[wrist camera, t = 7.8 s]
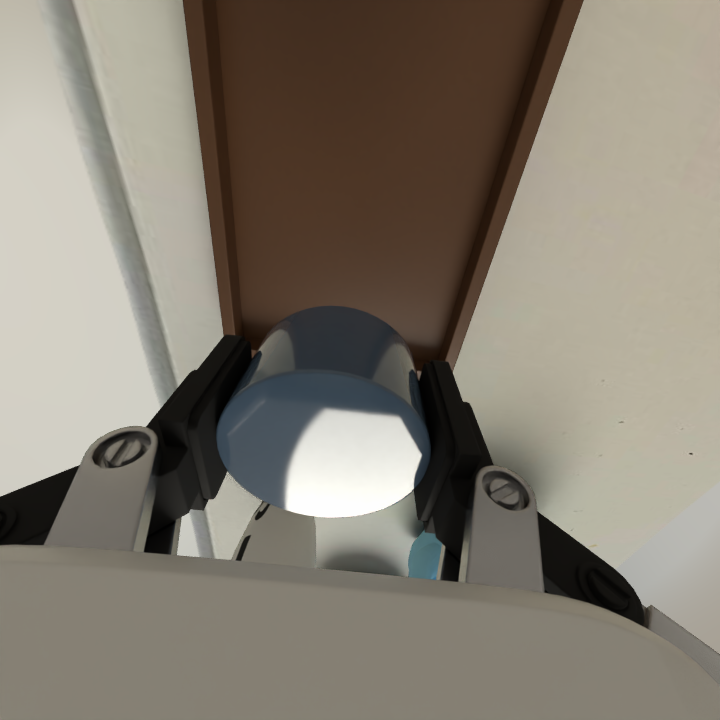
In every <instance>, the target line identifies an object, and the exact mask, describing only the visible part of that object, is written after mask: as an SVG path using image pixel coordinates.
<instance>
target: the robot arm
mask: <svg viewBox="0 0 720 720" xmlns="http://www.w3.org/2000/svg"><path fill="white" fill-rule="evenodd" d="M251 360H252V350H251V343H250V341H246V339H245V337H244V336H237V335H229V334H226V335H224V337H223V338H222V339H221V340H220V342H219V343H218V344H217V345H216V347H215V348H214V349H213V351H212V352H211V353H210V354H209V356H208V357H207V358H206V359H205V361H204V362H203V363H202V364H201V366H200V367H199V368H198V369H197V370H194V371H192V372H191V373H189V375H188V376H187V377H186V378H185V379H184V381H183V382H182V383H181V384H180V386H179V387H178V388H177V389H176V391H175V392H174V393H173V394H172V395H171V397H170V398H169V399H168V400H167V402H166V403H165V404H164V405H163V407H162V408H161V409H160V410H159V411H158V413H157V414H156V415H155V416H154V418H153V419H152V420H151V421H150V423H149V424H148V425H147V426H146V427H142V426H129V427H124V428H120V429H117V430H114V431H112V432H109V433H107V434H105V435H104V436H102V437H100V438H99V439H97V440H96V441H95V442H94V443H93V444H92V445H91V446H90V447H89V449H88V450H87V451H86V453H85V455H84V457H83V459H82V462H81V464H80V465H79V466H76V467H74V468H71V469H69V470H66V471H64V472H61V473H59V474H56V475H54V476H51V477H48V478H46V479H43V480H41V481H38V482H36V483H34V484H31V485H28V486H26V487H23V488H21V489H18V490H16V491H13V492H11V493H9V494H6V495H3V496H1V497H0V720H720V654H719V653H717V652H716V651H714V650H713V649H712V648H710V647H709V646H707V645H706V644H705V643H703V642H702V641H701V640H699V639H698V638H696V637H695V636H694V635H692V634H691V633H689V632H688V631H687V630H685V629H684V628H683V627H681V626H679V625H678V624H677V623H676V622H674V621H673V620H671V619H670V618H669V617H667V616H666V615H665V614H663V613H662V612H660V611H659V610H658V609H656V608H655V607H653V606H652V605H650V606H649V607H647V608H646V607H644V606H643V605H642V604H641V601H640V599H639V597H638V596H637V594H636V592H635V591H634V589H633V588H632V587H631V585H630V584H629V583H628V582H627V581H626V579H625V578H624V577H623V576H622V575H621V574H620V573H618V572H617V571H616V570H615V569H614V568H613V567H611V566H610V565H609V564H607V563H606V562H605V561H603V560H602V559H601V558H599V557H598V556H597V555H595V554H594V553H593V552H591V551H590V550H589V549H587V548H586V547H585V546H583V545H582V544H580V543H579V542H578V541H576V540H575V539H574V538H572V537H571V536H570V535H568V534H567V533H566V532H564V531H563V530H562V529H560V528H559V527H558V526H556V525H555V524H554V523H552V522H551V521H550V520H548V519H547V518H546V517H544V516H543V515H542V514H540V513H539V512H538V511H537V506H536V499H535V495H534V493H533V491H532V489H531V488H530V486H529V485H528V483H527V482H526V481H525V480H524V479H523V478H522V477H520V476H519V475H518V474H516V473H515V472H513V471H511V470H509V469H507V468H504V467H500V466H494V465H493V462H492V459H491V457H490V454H489V452H488V449H487V446H486V444H485V441H484V439H483V436H482V433H481V431H480V428H479V426H478V423H477V420H476V418H475V415H474V413H473V410H472V407H471V406H470V404H469V403H468V402H463V401H462V398H461V395H460V392H459V390H458V387H457V384H456V381H455V378H454V376H453V373H452V370H451V367H450V365H449V362H446V361H438V360H430V362H429V364H428V363H424V365H423V368H422V371H421V375H420V378H419V385H420V390H421V395H422V400H423V404H424V409H425V414H426V419H427V424H428V429H429V434H430V440H431V447H432V449H431V459H430V463H429V465H428V468H427V471H426V473H425V476H424V478H423V479H422V481H421V482H420V484H419V485H418V486H417V487H416V488H415V489H414V495H415V503H416V511H417V518H418V520H421V521H423V522H424V529H425V533H433V534H435V535H436V538H437V539H438V540H439V541H440V542H441V543H442V547H441V553H440V559H439V565H438V571H437V577H436V580H432V579H422V578H412V577H402V576H392V575H382V574H372V573H362V572H351V571H341V570H330V569H320V568H309V567H299V566H288V565H277V564H267V563H256V562H245V561H234V560H223V559H212V558H201V557H189V556H178V555H177V548H178V541H179V533H180V526H181V517H182V516H184V515H186V514H187V513H189V511H190V509H194V510H204V508H205V506H206V504H207V502H208V500H209V499H214V498H215V497H216V495H217V493H218V491H219V489H220V487H221V484H222V482H223V480H224V478H225V475H226V473H227V469H226V468H225V466H224V465H223V463H222V460H221V458H220V456H219V453H218V448H217V442H216V429H217V423H218V420H219V417H220V414H221V413H222V411H223V409H224V407H225V405H226V404H227V402H228V400H229V398H230V397H231V395H232V393H233V391H234V390H235V388H236V386H237V384H238V383H239V381H240V379H241V377H242V376H243V374H244V372H245V370H246V369H247V367H248V365H249V363H250V362H251Z"/></svg>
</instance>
